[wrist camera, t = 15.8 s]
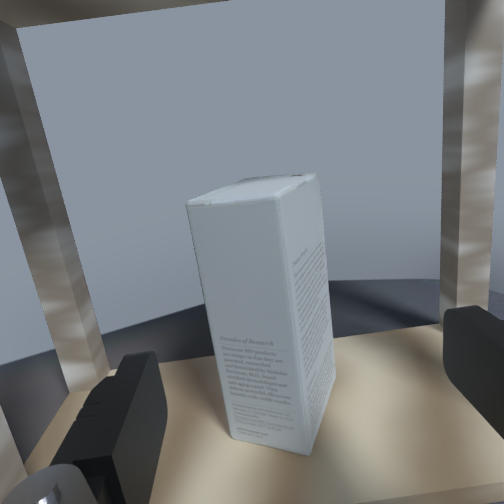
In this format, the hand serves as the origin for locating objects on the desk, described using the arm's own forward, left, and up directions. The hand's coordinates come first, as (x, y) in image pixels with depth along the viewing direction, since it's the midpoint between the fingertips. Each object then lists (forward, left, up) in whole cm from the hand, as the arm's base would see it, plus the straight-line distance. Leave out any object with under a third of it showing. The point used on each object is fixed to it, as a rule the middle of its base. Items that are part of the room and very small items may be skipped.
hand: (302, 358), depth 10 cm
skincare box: (0, +8, -8) cm, 11 cm away
